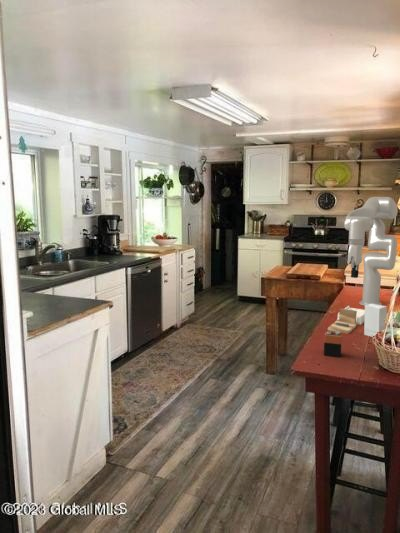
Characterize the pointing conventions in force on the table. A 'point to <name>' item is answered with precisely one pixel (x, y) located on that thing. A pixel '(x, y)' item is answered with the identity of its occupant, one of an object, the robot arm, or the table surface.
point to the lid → (345, 321)
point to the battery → (332, 344)
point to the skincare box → (374, 319)
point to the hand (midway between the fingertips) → (354, 277)
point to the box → (357, 315)
